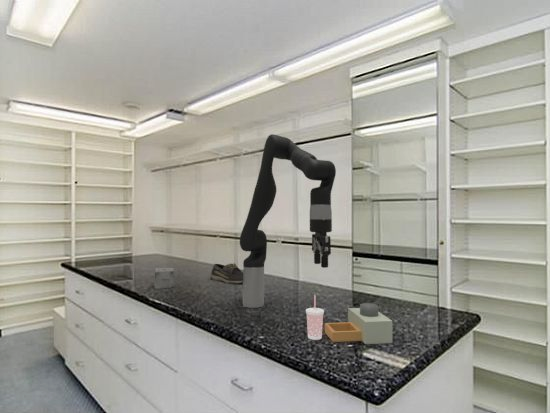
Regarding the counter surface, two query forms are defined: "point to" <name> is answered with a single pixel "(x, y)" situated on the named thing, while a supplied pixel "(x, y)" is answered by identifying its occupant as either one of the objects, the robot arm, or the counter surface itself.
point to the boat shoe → (227, 273)
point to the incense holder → (164, 278)
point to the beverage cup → (314, 321)
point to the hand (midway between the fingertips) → (320, 265)
